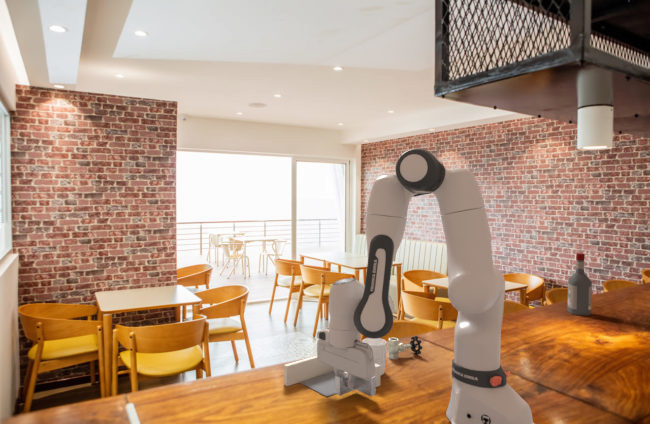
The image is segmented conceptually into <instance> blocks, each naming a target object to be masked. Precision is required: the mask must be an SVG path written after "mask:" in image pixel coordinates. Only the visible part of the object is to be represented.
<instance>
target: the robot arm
mask: <svg viewBox="0 0 650 424" xmlns="http://www.w3.org/2000/svg"><path fill="white" fill-rule="evenodd" d="M430 194H433V196H435V198H436V201H437V203H438V204H437V205H438V208H439V212H440V217H441V222H442V228H443V233H444V238H445V246H446V254H447V255H446V257H447V258H446V259H447V261H446V262H447V265H446V266H447V277H448V287H447V297H448V300H449V303H450V304H451V306H453V308H454V309H456V310H457V317H456V323H455V326H454V333H453V334H454V337H453V339H454V341H453V342H454V343H453V359H452V361H451V378H452V385H451V386H452V387H451V393H450V399H449V403H448V406H447V409H446V411H445V412H446V413H445V415H446V417H447V418H448V420H449V421H450V424H536V423H534V421H533V419H534V418H533V414H532V410H531V407H530V405H529V403H528V402H526V400H524V399H523V398H522V397H521V396H520V395H519V394H518V392H516V390H514V388H513V387H512V386H510V384H509V383H508V380H507V379H508V378H509V377H510V376H511V371H510V370H508V371H506V372H505V371H504V369H503V367H502V365H501V342H502V341H501V339H502V338H501V337H502V336H501V335H502V333H501V332H502V328H503V327H502V326H503V318H504V310H505V309H504V306H505V295H506V294H505V293H506V280H505V276H504V274H503V272H502V271H501V269H499V268H498V266H495V265H494V261H493V251H492V250H493V249H492V248H493V247H492V242H493V241H492V239H493V238H492V234H491V228H490V223H489V219H488V214H487V210H486V206H485V201H484V197H483V194H482V191H481V188H480V186H479V183H478V180H477V178H476V176H475V174H474V173H473V172H472V171H470V170H469V169H465V168H453V169H447V168H446V167H445V165H444V164H443V162H442V161H441V160H440V159H439V158H438V156H436V155H435V154H434V153H433V152H430V151H429V150H427V149H423V148H418V147H417V148H411V149H409V150H406V151H405V152H403V153H402V154H401V155H400V156H399V158H398V159H397V161H396V165H395V174H384V175H381V176H378V177H377V178H376V179H375V180H373V184H372V186H371V190H370V193H369V197H368V203H367V206H366V207H367V208H366V215H365V237H366V238H365V239H366V248H367V266H366V272H365V282H364V283H362V282H361V281H359V280H358V279H357V278H354V277H349V278H347V277H346V278H342V279H338V280H336V281H335V282H333V283H332V285H331V286H330V288H329V293H328V312H329V313H328V314H329V323H328V328H325V329H322V330H319V331H317V332H316V337H317V339H318V340H317V342H316V356H317V358H318V360H319V362H321V363H324V364H326V365H329V366H331V367H334V372H335V375H338V374H341V373H342V371H344V372H346V373H348V377H349V379H348V381H345V384H346V385H345V386H346V387H347V388H349V389H351V388H353V386H354V380H355V378H356V376H357V377H359V378H362V379H364V380H367V379H370V378H372V377H374V375H375V361H374V355H373V350H372V349H371V347H370V346H369V344H367V343H363V342H362V340H361V335H362V336H364V337H366V338H372V339H376V338H381V339H382V338H383V337H385V336H386V335H388V334H389V333H390V332H391V330H392V328H393V325H394V312H395V311H394V310H395V309H394V308H395V306H394V305H395V304H394V301H393V299H392V297H391V296H390V295H389V294H390V286H391V277H392V267H393V263H394V259H395V258H396V254H397V252H398V251H399V248H400V246H401V244H402V241H403V238H404V233H405V230H406V225H407V220H408V219H407V218H408V209H409V203H410V200H411V199H412V197H414V198H415V197H419V196H425V195H430ZM368 347H369V348H368Z"/></svg>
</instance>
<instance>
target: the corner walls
mask: <svg viewBox="0 0 650 424" xmlns="http://www.w3.org/2000/svg"><path fill="white" fill-rule="evenodd" d="M333 371H334V367H331V366H329V365H326V364H324V363H321V362H319V360H318V358H317V355H314V356H310V357H307V358H304V359H300V360H296V361H293V362H289V363H286V364H283V385H284V386H285V387H290V386H293V385H295V384H298V383H299V384H300V383H301V382H303V381H306V380H309V379H312V378H315V377H318V376H321V375H324V374H327V373H330V372H333ZM342 372H344V371H342ZM374 376H376V388H377V387H380V386H381V376H382V375H381V365H378V364H375V375H374Z"/></svg>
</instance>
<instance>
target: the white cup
mask: <svg viewBox="0 0 650 424" xmlns="http://www.w3.org/2000/svg"><path fill="white" fill-rule="evenodd" d="M361 342H363V343H367V344H369V346H370V347H371V349H372V350H373V355H374V361H375V364H378V365H381V376H383V375H384V374H385V370H386V369H385V368H386V366H385V365H386V358H387V347H388V343H387V340H386V339H383V338H382V337H381V338H376V339H372V338H368V337H366V338H363V339H362V340H361ZM368 348H369V347H368Z"/></svg>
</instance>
